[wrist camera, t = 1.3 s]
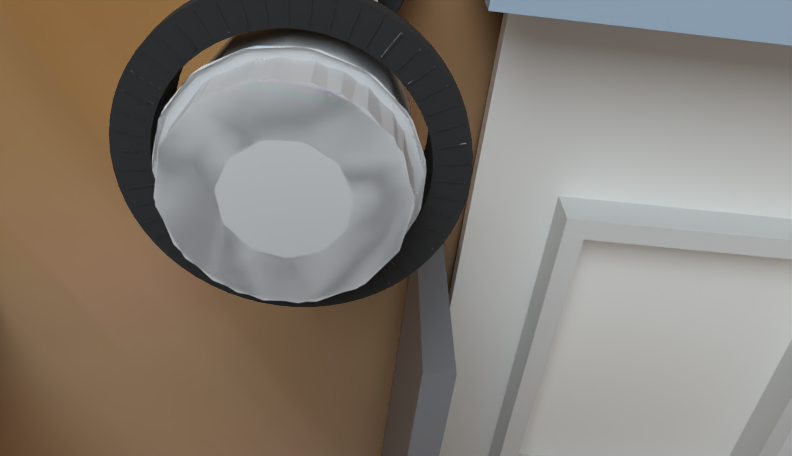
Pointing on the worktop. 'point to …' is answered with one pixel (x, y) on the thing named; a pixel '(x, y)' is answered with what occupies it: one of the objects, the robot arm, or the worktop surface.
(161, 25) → the push button
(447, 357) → the dock
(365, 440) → the worktop surface
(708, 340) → the tray
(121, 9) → the worktop surface
